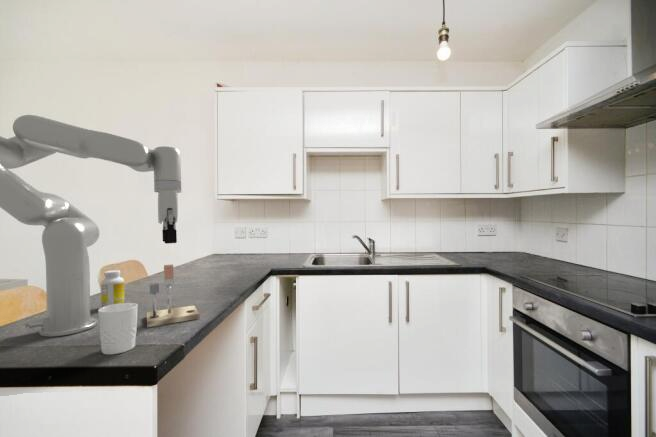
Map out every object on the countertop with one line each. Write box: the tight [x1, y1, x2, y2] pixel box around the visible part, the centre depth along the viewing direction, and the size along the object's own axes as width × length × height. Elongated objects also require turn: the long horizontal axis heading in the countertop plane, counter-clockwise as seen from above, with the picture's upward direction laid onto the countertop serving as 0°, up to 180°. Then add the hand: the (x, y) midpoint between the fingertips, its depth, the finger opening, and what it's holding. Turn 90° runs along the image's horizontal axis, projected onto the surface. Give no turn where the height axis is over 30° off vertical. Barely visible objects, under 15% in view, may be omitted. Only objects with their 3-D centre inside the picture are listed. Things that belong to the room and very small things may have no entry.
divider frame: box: [148, 280, 197, 316], centre depth 97 cm, size 13×3×9 cm, turn 121°
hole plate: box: [146, 305, 200, 328], centre depth 98 cm, size 14×11×2 cm
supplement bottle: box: [100, 269, 125, 308], centre depth 109 cm, size 7×7×13 cm
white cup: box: [97, 302, 139, 355], centre depth 75 cm, size 8×8×10 cm
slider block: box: [162, 264, 176, 314], centre depth 97 cm, size 3×4×14 cm
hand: (169, 242), depth 97 cm, fingers open, 9 cm apart
